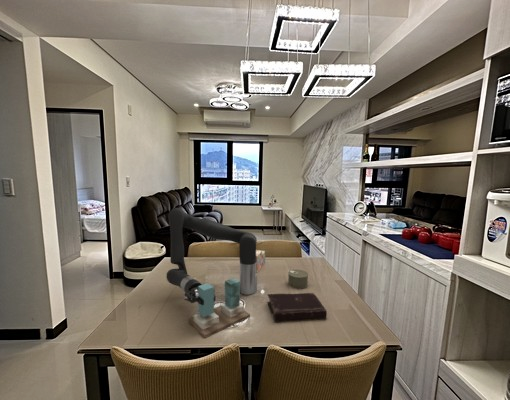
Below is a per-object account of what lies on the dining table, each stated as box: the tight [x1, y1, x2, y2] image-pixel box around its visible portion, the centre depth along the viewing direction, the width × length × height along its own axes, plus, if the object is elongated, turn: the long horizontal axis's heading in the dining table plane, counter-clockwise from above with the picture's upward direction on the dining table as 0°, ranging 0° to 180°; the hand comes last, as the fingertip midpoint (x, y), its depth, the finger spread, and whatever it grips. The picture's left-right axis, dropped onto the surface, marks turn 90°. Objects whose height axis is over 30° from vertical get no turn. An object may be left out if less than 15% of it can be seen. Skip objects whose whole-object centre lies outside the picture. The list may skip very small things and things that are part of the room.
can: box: [287, 269, 309, 289], centre depth 152 cm, size 12×12×7 cm
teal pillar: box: [197, 282, 215, 317], centre depth 109 cm, size 5×5×12 cm
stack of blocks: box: [256, 249, 266, 274], centre depth 178 cm, size 21×6×12 cm, turn 163°
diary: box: [266, 292, 328, 323], centre depth 124 cm, size 19×25×5 cm
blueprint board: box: [187, 277, 251, 339], centre depth 114 cm, size 24×15×16 cm, turn 131°
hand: (209, 300), depth 107 cm, fingers closed on teal pillar, 5 cm apart
